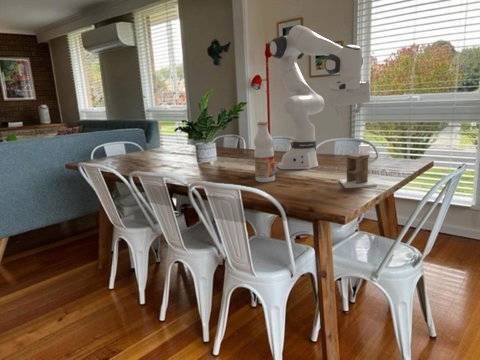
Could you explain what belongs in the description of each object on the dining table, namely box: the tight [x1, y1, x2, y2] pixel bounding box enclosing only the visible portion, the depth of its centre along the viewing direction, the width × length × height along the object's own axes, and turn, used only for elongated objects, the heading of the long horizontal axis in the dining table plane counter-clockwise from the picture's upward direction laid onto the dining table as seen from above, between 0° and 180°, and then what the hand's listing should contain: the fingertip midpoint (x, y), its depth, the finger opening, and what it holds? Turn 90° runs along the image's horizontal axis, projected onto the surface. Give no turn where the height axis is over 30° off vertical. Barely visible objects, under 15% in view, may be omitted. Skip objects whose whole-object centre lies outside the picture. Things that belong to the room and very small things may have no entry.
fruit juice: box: [253, 121, 276, 183], centre depth 174 cm, size 9×9×28 cm
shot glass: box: [358, 143, 372, 154], centre depth 221 cm, size 7×7×7 cm
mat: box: [338, 177, 378, 189], centre depth 160 cm, size 13×12×1 cm
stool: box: [344, 152, 370, 184], centre depth 158 cm, size 7×7×12 cm
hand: (348, 114), depth 168 cm, fingers open, 8 cm apart
